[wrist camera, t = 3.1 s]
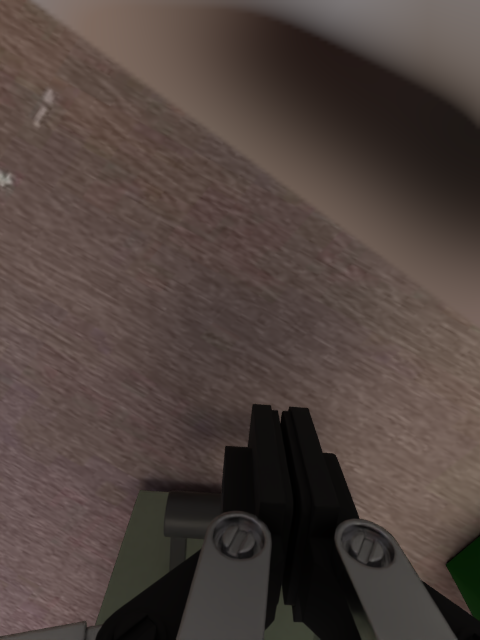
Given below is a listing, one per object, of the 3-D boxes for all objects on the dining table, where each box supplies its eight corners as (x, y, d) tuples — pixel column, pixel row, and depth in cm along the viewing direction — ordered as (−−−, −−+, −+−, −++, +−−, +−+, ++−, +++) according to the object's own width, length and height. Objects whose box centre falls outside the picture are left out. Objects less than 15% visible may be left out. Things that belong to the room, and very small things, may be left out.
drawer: (139, 418, 19) (78, 563, 12) (369, 436, 20) (447, 587, 12) (138, 660, 25) (95, 859, 18) (316, 671, 25) (347, 870, 18)
